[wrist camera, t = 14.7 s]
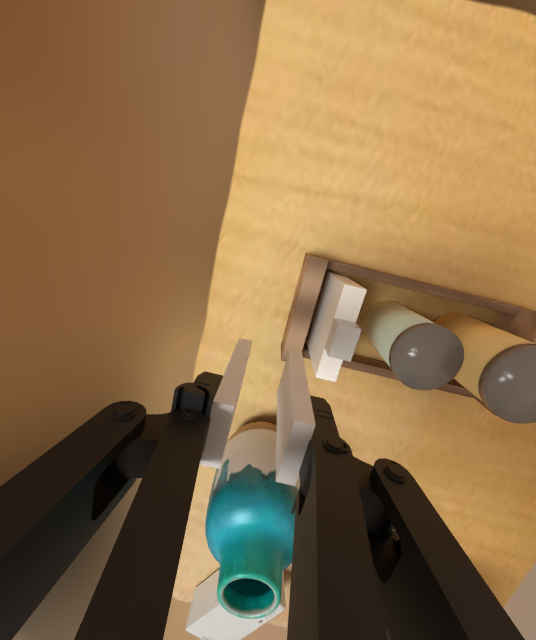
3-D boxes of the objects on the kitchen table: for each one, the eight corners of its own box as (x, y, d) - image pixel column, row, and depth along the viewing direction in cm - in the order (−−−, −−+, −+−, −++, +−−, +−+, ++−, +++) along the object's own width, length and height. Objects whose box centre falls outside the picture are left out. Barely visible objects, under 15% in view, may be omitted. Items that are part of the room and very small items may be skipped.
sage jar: (400, 352, 38) (447, 396, 27) (354, 340, 37) (383, 381, 27) (418, 306, 36) (476, 335, 25) (370, 294, 36) (407, 318, 25)
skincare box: (286, 609, 43) (225, 657, 47) (284, 565, 49) (230, 610, 52) (242, 583, 42) (182, 634, 45) (246, 541, 48) (192, 589, 51)
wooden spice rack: (470, 390, 39) (504, 417, 33) (281, 344, 38) (281, 364, 32) (512, 304, 35) (558, 317, 30) (305, 253, 35) (310, 256, 29)
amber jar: (466, 371, 38) (549, 431, 26) (413, 358, 38) (473, 413, 26) (490, 319, 36) (592, 359, 24) (434, 306, 36) (510, 339, 24)
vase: (211, 433, 42) (157, 585, 24) (269, 395, 40) (260, 529, 22) (255, 481, 44) (238, 656, 26) (313, 447, 42) (339, 611, 24)
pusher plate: (321, 344, 37) (339, 392, 26) (306, 341, 37) (318, 387, 26) (343, 275, 35) (374, 293, 23) (327, 271, 35) (350, 288, 23)
